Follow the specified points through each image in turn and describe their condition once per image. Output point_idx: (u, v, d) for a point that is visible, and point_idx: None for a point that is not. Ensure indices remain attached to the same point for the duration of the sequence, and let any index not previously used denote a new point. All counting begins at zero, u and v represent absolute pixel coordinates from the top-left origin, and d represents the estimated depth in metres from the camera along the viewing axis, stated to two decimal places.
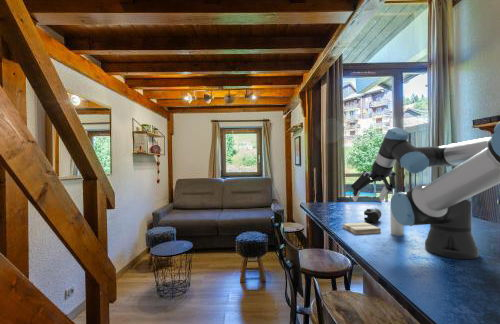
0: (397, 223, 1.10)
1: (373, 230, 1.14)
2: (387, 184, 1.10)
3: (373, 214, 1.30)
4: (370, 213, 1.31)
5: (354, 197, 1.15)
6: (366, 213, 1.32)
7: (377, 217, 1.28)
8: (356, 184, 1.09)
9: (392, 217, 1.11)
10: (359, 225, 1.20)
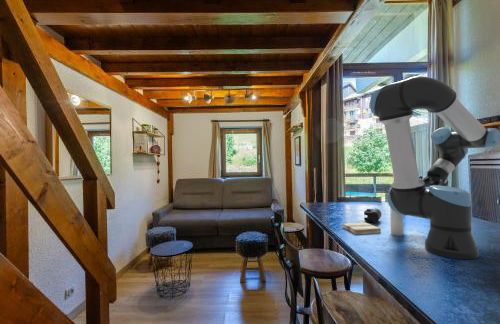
0: (397, 223, 1.10)
1: (373, 230, 1.14)
2: None
3: (373, 214, 1.30)
4: (370, 213, 1.31)
5: None
6: (366, 213, 1.32)
7: (377, 217, 1.28)
8: None
9: (392, 217, 1.11)
10: (359, 225, 1.20)
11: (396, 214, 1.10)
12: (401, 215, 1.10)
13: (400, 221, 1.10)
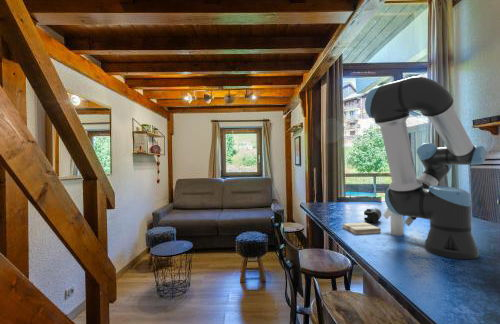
0: (397, 223, 1.10)
1: (373, 230, 1.14)
2: None
3: (373, 214, 1.30)
4: (370, 213, 1.31)
5: None
6: (366, 213, 1.32)
7: (377, 217, 1.28)
8: None
9: (392, 217, 1.11)
10: (359, 225, 1.20)
11: (396, 214, 1.10)
12: (401, 215, 1.10)
13: (400, 221, 1.10)
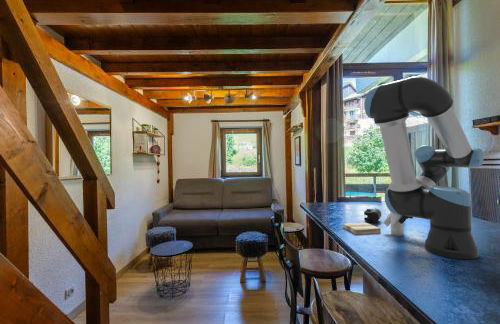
0: None
1: (373, 230, 1.14)
2: None
3: (373, 214, 1.30)
4: (370, 213, 1.31)
5: None
6: (366, 213, 1.32)
7: (377, 217, 1.28)
8: None
9: (392, 217, 1.11)
10: (359, 225, 1.20)
11: (396, 214, 1.10)
12: None
13: None
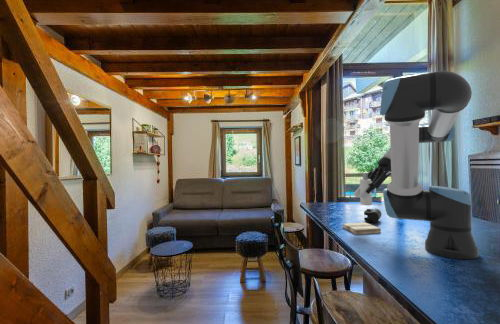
0: None
1: (373, 230, 1.14)
2: (374, 179, 1.17)
3: (373, 214, 1.30)
4: (370, 213, 1.31)
5: None
6: (366, 213, 1.32)
7: (377, 217, 1.28)
8: None
9: (361, 188, 1.19)
10: (359, 225, 1.20)
11: (364, 185, 1.18)
12: None
13: None
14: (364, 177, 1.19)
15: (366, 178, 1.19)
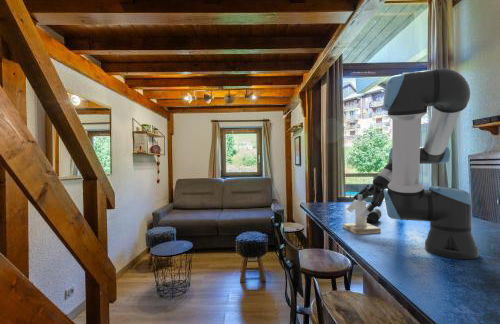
0: (360, 215, 1.17)
1: (373, 230, 1.14)
2: (373, 197, 1.15)
3: (373, 214, 1.30)
4: (370, 213, 1.31)
5: None
6: None
7: (377, 217, 1.28)
8: None
9: (356, 210, 1.19)
10: None
11: (359, 207, 1.17)
12: (364, 208, 1.17)
13: None
14: (359, 199, 1.19)
15: (361, 200, 1.18)
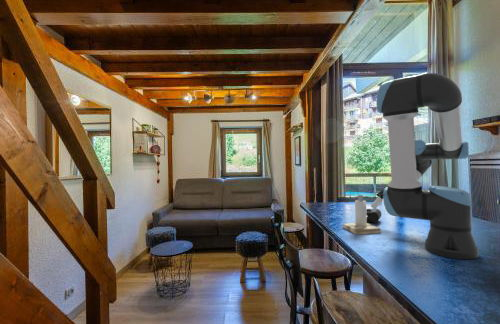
0: (360, 215, 1.17)
1: (373, 230, 1.14)
2: None
3: (373, 214, 1.30)
4: (370, 213, 1.31)
5: None
6: None
7: (377, 217, 1.28)
8: None
9: (356, 210, 1.19)
10: None
11: (359, 207, 1.17)
12: (364, 208, 1.17)
13: (363, 213, 1.17)
14: (359, 199, 1.19)
15: (361, 200, 1.18)
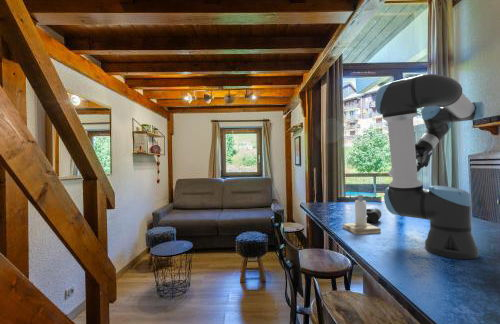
0: (360, 215, 1.17)
1: (373, 230, 1.14)
2: (418, 159, 1.18)
3: (373, 214, 1.30)
4: (370, 213, 1.31)
5: None
6: None
7: (377, 217, 1.28)
8: None
9: (356, 210, 1.19)
10: None
11: (359, 207, 1.17)
12: (364, 208, 1.17)
13: (363, 213, 1.17)
14: (359, 199, 1.19)
15: (361, 200, 1.18)
